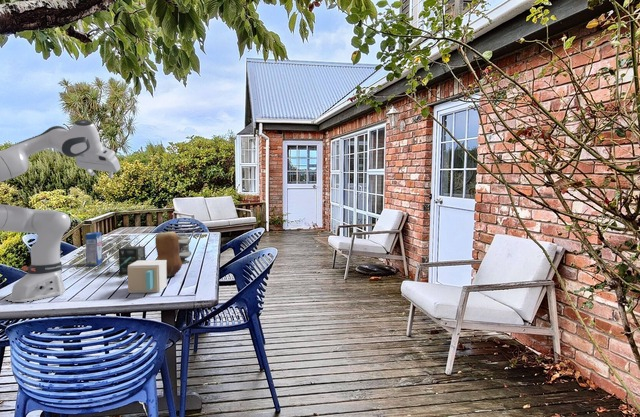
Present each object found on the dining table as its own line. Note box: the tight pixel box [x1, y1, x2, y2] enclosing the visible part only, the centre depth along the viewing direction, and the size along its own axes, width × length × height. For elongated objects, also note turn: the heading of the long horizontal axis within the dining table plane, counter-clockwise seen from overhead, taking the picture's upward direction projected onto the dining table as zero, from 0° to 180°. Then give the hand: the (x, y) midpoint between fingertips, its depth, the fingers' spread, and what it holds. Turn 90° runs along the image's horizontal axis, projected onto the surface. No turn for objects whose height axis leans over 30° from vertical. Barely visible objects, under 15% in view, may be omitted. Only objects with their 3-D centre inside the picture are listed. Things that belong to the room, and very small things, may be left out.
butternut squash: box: [154, 230, 183, 278], centre depth 213 cm, size 14×13×25 cm
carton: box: [128, 259, 168, 294], centre depth 188 cm, size 12×14×13 cm
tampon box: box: [118, 245, 146, 275], centre depth 224 cm, size 11×9×15 cm
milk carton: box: [84, 231, 104, 267], centre depth 244 cm, size 10×6×20 cm, turn 13°
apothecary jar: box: [177, 234, 192, 265], centre depth 250 cm, size 12×12×18 cm
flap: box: [127, 267, 158, 292], centre depth 178 cm, size 6×13×11 cm, turn 96°
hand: (102, 176), depth 191 cm, fingers open, 8 cm apart
